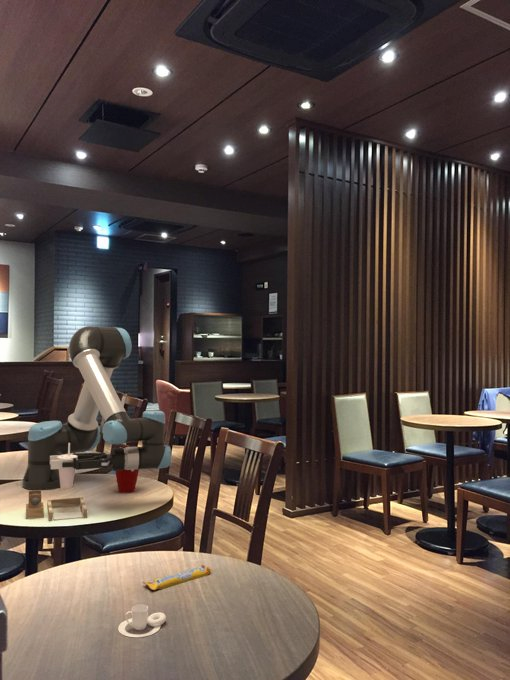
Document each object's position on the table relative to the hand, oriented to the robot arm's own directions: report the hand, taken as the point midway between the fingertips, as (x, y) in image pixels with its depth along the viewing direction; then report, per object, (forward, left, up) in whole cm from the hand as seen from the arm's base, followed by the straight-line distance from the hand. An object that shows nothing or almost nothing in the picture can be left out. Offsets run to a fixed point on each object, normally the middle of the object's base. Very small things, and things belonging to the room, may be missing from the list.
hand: (50, 462), depth 183 cm
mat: (+5, +7, -16) cm, 18 cm away
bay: (+1, +6, -16) cm, 17 cm away
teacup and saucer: (+76, +44, -16) cm, 89 cm away
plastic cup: (-27, +19, -16) cm, 36 cm away
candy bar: (+52, +46, -16) cm, 71 cm away
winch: (+4, -3, -16) cm, 16 cm away
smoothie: (-2, +5, -8) cm, 10 cm away
